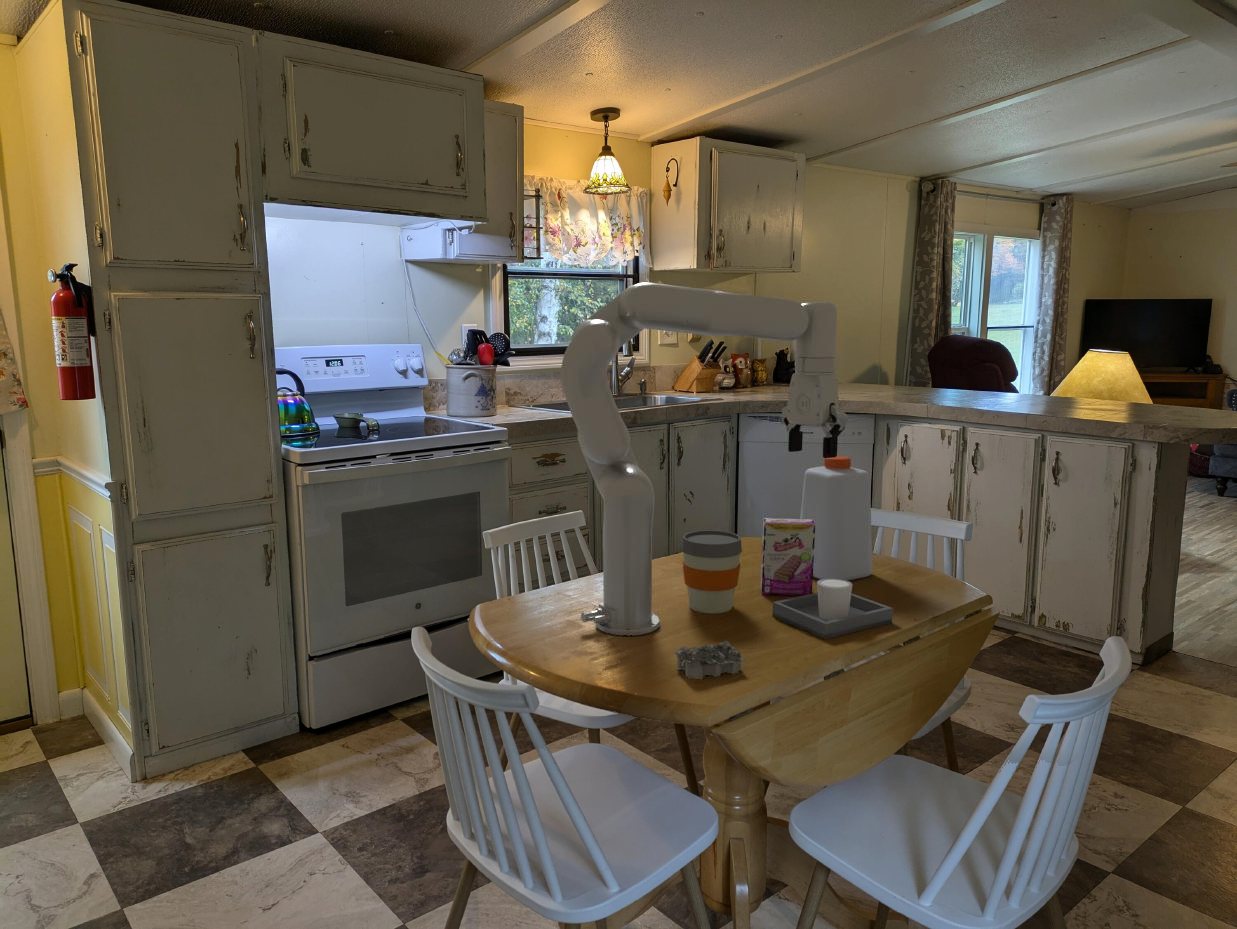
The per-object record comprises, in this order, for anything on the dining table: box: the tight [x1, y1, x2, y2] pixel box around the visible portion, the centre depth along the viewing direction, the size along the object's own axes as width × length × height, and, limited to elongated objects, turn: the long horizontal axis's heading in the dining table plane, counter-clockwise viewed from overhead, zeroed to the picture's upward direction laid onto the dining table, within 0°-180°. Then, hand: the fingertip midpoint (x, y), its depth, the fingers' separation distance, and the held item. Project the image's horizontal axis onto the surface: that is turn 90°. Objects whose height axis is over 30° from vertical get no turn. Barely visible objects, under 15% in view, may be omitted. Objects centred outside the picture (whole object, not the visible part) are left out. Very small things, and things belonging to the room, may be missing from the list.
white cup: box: [816, 579, 853, 621], centre depth 168 cm, size 7×7×7 cm
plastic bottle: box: [799, 455, 873, 581], centre depth 200 cm, size 15×15×28 cm
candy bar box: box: [760, 517, 815, 596], centre depth 186 cm, size 11×5×16 cm, turn 84°
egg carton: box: [674, 640, 746, 680], centre depth 145 cm, size 11×8×4 cm
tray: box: [771, 592, 894, 640], centre depth 169 cm, size 18×15×3 cm
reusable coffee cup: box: [681, 529, 743, 614], centre depth 177 cm, size 12×13×15 cm
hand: (812, 454), depth 166 cm, fingers open, 9 cm apart
